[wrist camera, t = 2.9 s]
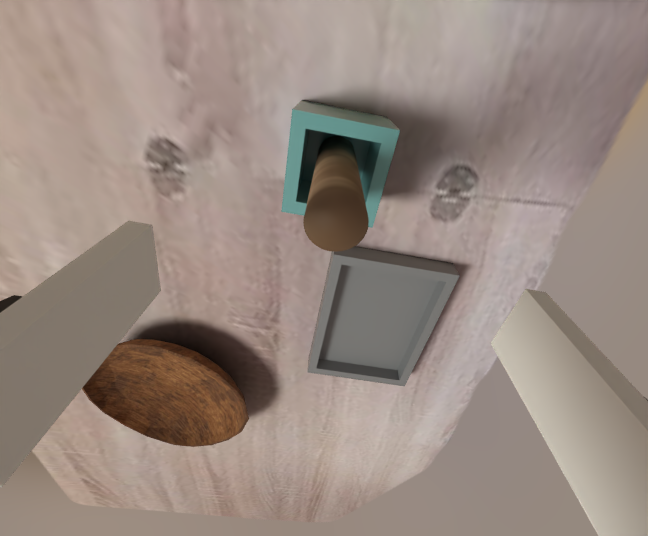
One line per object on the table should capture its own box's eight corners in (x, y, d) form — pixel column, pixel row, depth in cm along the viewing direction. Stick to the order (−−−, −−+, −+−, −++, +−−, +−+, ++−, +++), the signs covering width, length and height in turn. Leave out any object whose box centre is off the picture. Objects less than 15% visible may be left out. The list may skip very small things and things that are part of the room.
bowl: (161, 290, 37) (139, 319, 33) (283, 387, 47) (278, 419, 42) (76, 356, 44) (49, 386, 40) (196, 429, 53) (184, 460, 49)
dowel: (315, 170, 28) (299, 245, 16) (321, 132, 26) (308, 186, 14) (350, 176, 28) (360, 256, 16) (358, 139, 26) (376, 198, 15)
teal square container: (291, 184, 30) (281, 211, 24) (302, 99, 26) (292, 109, 20) (365, 198, 30) (372, 227, 25) (386, 116, 26) (400, 130, 21)
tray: (308, 357, 43) (307, 372, 41) (333, 242, 33) (333, 254, 31) (401, 371, 44) (404, 386, 42) (452, 263, 34) (459, 275, 32)
